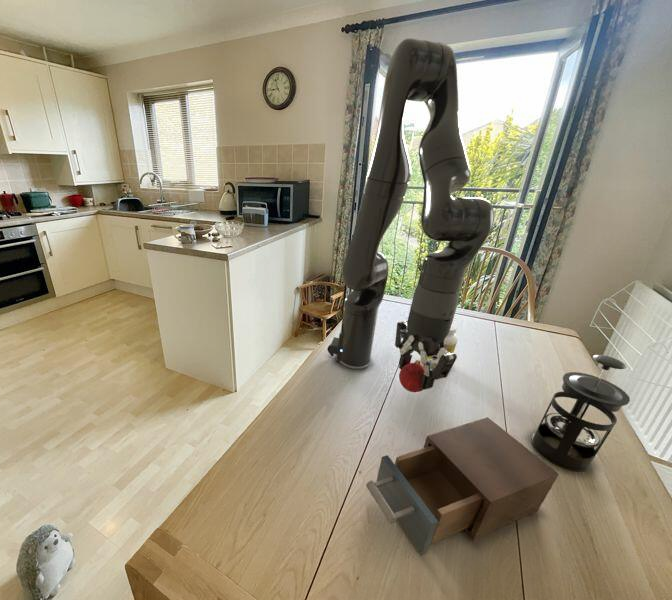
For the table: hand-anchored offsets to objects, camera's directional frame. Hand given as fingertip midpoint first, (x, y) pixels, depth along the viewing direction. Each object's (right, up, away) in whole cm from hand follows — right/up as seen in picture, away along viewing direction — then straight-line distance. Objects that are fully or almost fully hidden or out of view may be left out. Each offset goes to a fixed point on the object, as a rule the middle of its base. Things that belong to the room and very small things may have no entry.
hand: (413, 377), depth 66 cm
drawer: (-5, -19, -13) cm, 24 cm away
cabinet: (+7, -18, -9) cm, 22 cm away
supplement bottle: (+19, -2, +26) cm, 32 cm away
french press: (+30, -15, -1) cm, 34 cm away
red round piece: (0, -3, +2) cm, 4 cm away
